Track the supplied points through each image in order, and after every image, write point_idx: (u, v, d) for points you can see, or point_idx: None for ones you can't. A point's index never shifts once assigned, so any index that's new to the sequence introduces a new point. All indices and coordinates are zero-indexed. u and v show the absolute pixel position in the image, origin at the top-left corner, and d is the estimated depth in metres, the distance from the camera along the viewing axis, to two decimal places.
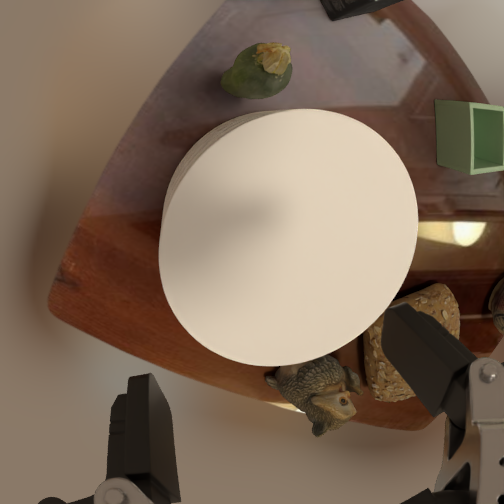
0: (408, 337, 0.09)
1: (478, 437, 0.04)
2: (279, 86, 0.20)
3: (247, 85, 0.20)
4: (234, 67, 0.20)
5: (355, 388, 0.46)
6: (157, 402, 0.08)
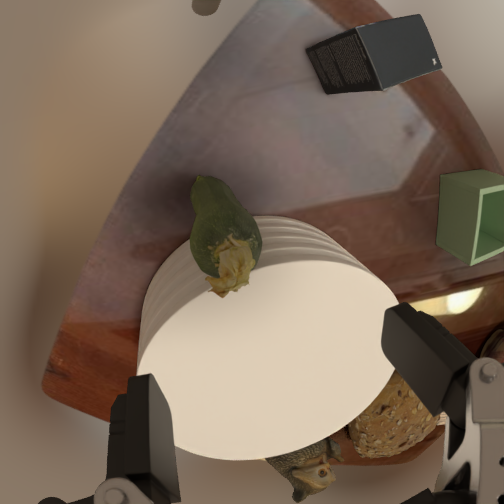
0: (407, 338, 0.09)
1: (478, 437, 0.04)
2: None
3: (206, 273, 0.18)
4: (190, 244, 0.19)
5: (335, 457, 0.44)
6: (157, 402, 0.08)
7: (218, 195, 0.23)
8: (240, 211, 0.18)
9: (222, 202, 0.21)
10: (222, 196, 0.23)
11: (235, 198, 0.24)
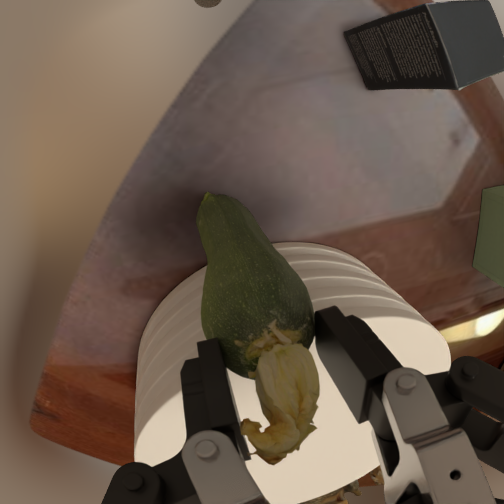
0: (332, 342, 0.09)
1: (417, 459, 0.04)
2: None
3: None
4: (202, 323, 0.12)
5: (353, 491, 0.37)
6: (224, 365, 0.10)
7: (238, 229, 0.16)
8: (283, 272, 0.11)
9: (248, 247, 0.14)
10: (244, 231, 0.16)
11: (262, 232, 0.17)
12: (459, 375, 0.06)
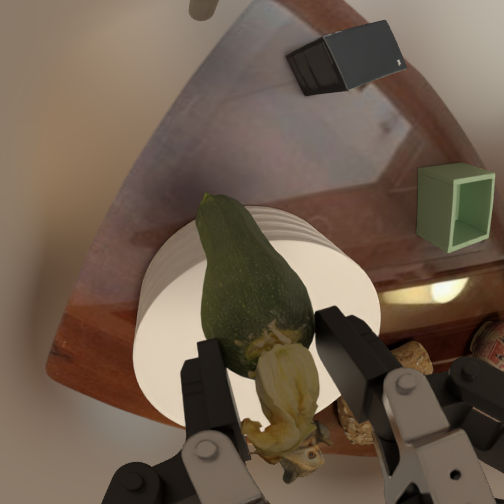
0: (331, 341, 0.09)
1: (417, 459, 0.04)
2: None
3: None
4: (202, 323, 0.12)
5: (325, 440, 0.48)
6: (224, 365, 0.10)
7: (238, 229, 0.16)
8: (283, 272, 0.11)
9: (248, 247, 0.14)
10: (244, 231, 0.16)
11: (261, 232, 0.17)
12: (459, 375, 0.06)
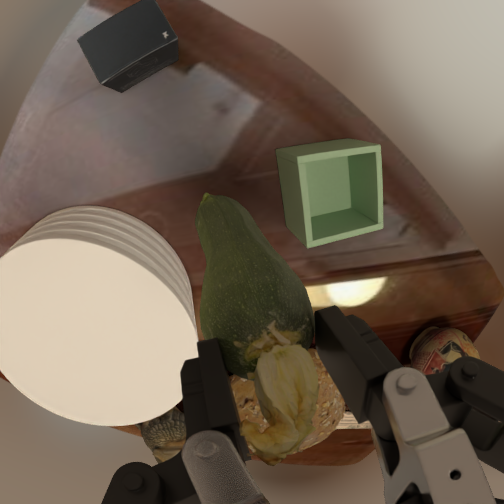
0: (332, 341, 0.09)
1: (417, 459, 0.04)
2: None
3: None
4: (201, 324, 0.12)
5: None
6: (224, 365, 0.10)
7: (237, 230, 0.16)
8: (282, 273, 0.11)
9: (247, 248, 0.14)
10: (243, 232, 0.16)
11: (260, 232, 0.17)
12: (459, 375, 0.06)
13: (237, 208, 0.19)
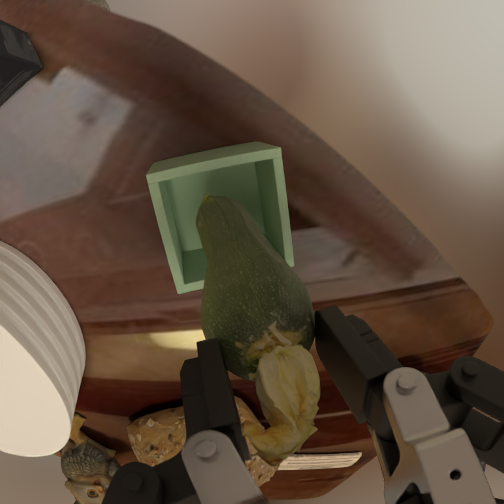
0: (331, 341, 0.09)
1: (417, 459, 0.04)
2: None
3: None
4: (203, 325, 0.12)
5: None
6: (224, 365, 0.10)
7: (238, 230, 0.16)
8: (283, 274, 0.11)
9: (248, 249, 0.14)
10: (244, 232, 0.16)
11: (261, 233, 0.17)
12: (459, 375, 0.06)
13: (238, 208, 0.19)
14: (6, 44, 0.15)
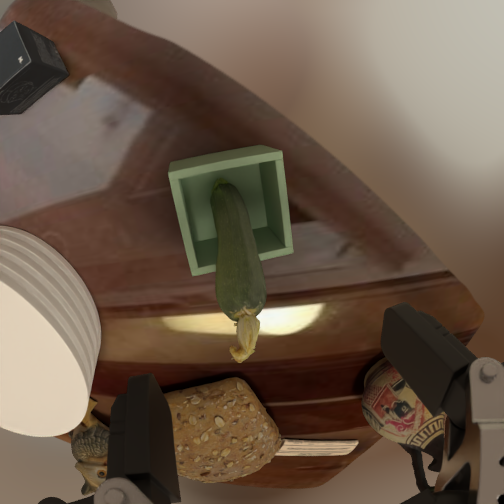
0: (407, 337, 0.09)
1: (478, 437, 0.04)
2: None
3: None
4: (216, 295, 0.27)
5: None
6: (158, 402, 0.08)
7: (235, 231, 0.29)
8: (252, 280, 0.26)
9: (238, 255, 0.28)
10: (238, 233, 0.29)
11: (249, 228, 0.30)
12: None
13: (236, 205, 0.31)
14: (39, 53, 0.19)
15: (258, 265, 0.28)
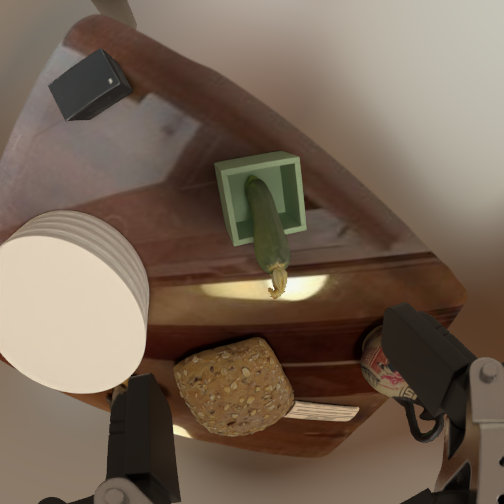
0: (407, 338, 0.09)
1: (478, 437, 0.04)
2: None
3: None
4: (256, 256, 0.39)
5: None
6: (157, 402, 0.08)
7: (267, 213, 0.42)
8: (281, 244, 0.38)
9: (271, 228, 0.40)
10: (269, 214, 0.41)
11: (276, 211, 0.42)
12: None
13: (266, 195, 0.43)
14: (119, 75, 0.31)
15: (284, 235, 0.40)
